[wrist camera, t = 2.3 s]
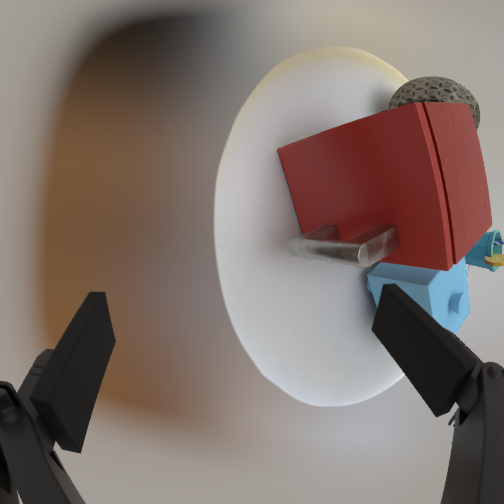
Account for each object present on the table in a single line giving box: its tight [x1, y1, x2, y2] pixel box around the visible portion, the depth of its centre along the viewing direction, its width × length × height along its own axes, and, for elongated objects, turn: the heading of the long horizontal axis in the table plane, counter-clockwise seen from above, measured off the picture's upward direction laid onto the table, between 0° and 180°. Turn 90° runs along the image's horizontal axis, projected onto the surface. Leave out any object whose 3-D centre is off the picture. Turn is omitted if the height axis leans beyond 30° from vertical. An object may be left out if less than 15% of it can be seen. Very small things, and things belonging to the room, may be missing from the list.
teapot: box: [367, 256, 469, 335], centre depth 37 cm, size 18×16×13 cm
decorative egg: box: [388, 77, 480, 131], centre depth 34 cm, size 12×12×15 cm
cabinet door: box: [278, 102, 453, 271], centre depth 24 cm, size 6×12×18 cm, turn 19°
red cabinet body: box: [422, 102, 492, 265], centre depth 28 cm, size 10×12×18 cm
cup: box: [465, 230, 504, 272], centre depth 45 cm, size 14×8×15 cm, turn 122°
